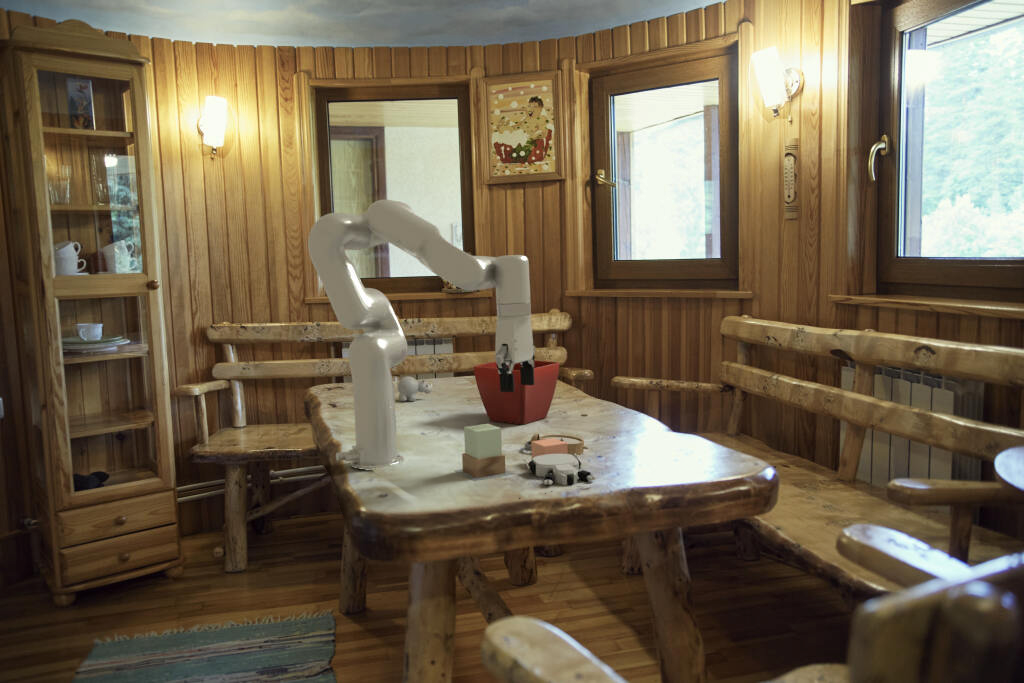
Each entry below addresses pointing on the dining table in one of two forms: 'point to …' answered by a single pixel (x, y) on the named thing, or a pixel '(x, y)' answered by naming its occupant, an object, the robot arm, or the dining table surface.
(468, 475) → the build board
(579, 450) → the alarm clock
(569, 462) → the robot toy
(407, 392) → the round bodied animal figurine
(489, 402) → the plant pot
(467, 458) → the walnut block
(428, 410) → the dining table surface
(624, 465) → the dining table surface
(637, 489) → the dining table surface
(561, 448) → the terracotta cube
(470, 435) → the sage cube
